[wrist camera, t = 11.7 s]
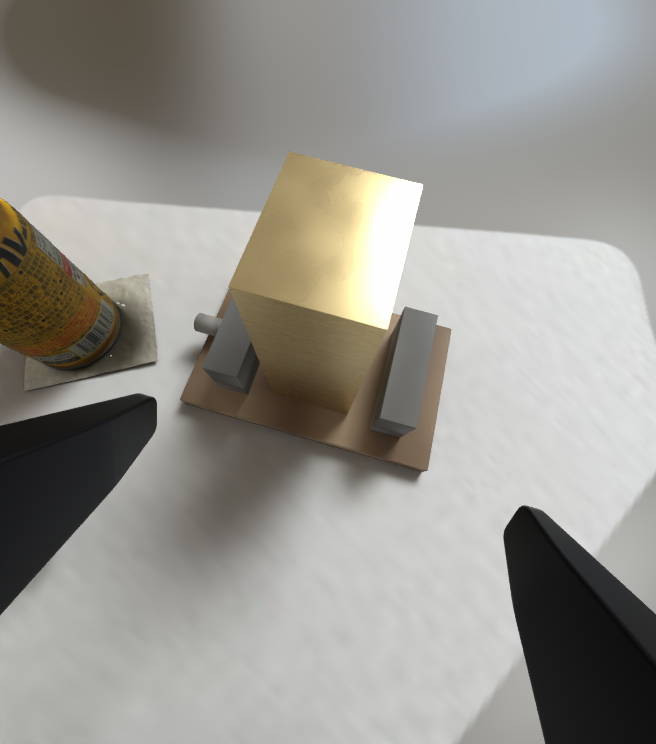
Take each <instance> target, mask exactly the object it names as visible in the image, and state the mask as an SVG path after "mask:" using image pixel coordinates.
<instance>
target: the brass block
mask: <svg viewBox="0 0 656 744" xmlns="http://www.w3.org/2000/svg"><path fill="white" fill-rule="evenodd" d="M422 187H423V185H422V184H418V183H414V182H409V181H406V180H402V179H398V178H394V177H389V176H386V175H382V174H377V173H373V172H369V171H365V170H361V169H357V168H353V167H349V166H345V165H341V164H337V163H333V162H329V161H325V160H321V159H317V158H313V157H309V156H304V155H301V154H297V153H293V152H289V153H288V155H287V158H286V160H285V162H284V164H283V166H282V169H281V171H280V173H279V176H278V178H277V180H276V182H275V184H274V187H273V189H272V191H271V193H270V195H269V198H268V200H267V202H266V204H265V207H264V209H263V211H262V213H261V215H260V217H259V220H258V222H257V224H256V226H255V229H254V231H253V233H252V235H251V237H250V240H249V242H248V244H247V246H246V249H245V251H244V253H243V255H242V257H241V260H240V262H239V264H238V266H237V269H236V271H235V273H234V275H233V277H232V280H231V282H230V284H229V286H228V287H229V289H230V292H231V294H232V297H233V299H234V301H235V304H236V306H237V309H238V311H239V313H240V316H241V318H242V321H243V323H244V325H245V328H246V330H247V333H248V335H249V338H250V340H251V342H252V345H253V347H254V350H255V352H256V354H257V357H258V359H259V362H260V364H261V367H262V369H263V371H264V374H265V376H266V379H267V381H268V383H269V386H270V388H271V391H272V393H273V394H277V395H280V396H284V397H287V398H291V399H294V400H298V401H301V402H305V403H308V404H312V405H315V406H319V407H322V408H326V409H329V410H333V411H336V412H340V413H343V414H347V415H348V413H349V411H350V408H351V406H352V404H353V402H354V400H355V398H356V396H357V393H358V391H359V389H360V387H361V385H362V383H363V381H364V379H365V376H366V374H367V372H368V370H369V368H370V366H371V364H372V361H373V359H374V357H375V355H376V353H377V351H378V349H379V347H380V344H381V342H382V340H383V338H384V336H385V334H386V332H387V329H388V325H389V321H390V317H391V313H392V309H393V305H394V301H395V297H396V293H397V289H398V285H399V280H400V276H401V272H402V268H403V264H404V260H405V256H406V252H407V248H408V244H409V240H410V236H411V232H412V228H413V224H414V220H415V215H416V211H417V207H418V203H419V199H420V195H421V191H422Z"/></svg>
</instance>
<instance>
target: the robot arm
mask: <svg viewBox="0 0 656 744" xmlns="http://www.w3.org/2000/svg"><path fill="white" fill-rule="evenodd" d="M156 427H157V402H156V399H155V398H154V397H151V396H147V395H144V394H140V393H137V394H133V395H128V396H124V397H120V398H116V399H112V400H107V401H103V402H99V403H95V404H90V405H86V406H82V407H78V408H74V409H69V410H65V411H61V412H57V413H52V414H48V415H44V416H40V417H36V418H31V419H27V420H23V421H19V422H15V423H10V424H6V425H2V426H0V615H1V614H2V613H3V612H4V610H5V609H6V608H7V607H8V606H9V605H10V604H11V603H12V602H13V600H14V599H15V598H16V597H17V596H18V595H19V594H20V593H21V591H22V590H23V589H24V588H25V587H26V586H27V585H28V584H29V583H30V581H31V580H32V579H33V578H34V577H35V576H36V575H37V574H38V572H39V571H40V570H41V569H42V568H43V567H44V566H45V565H46V563H47V562H48V561H49V560H50V559H51V558H52V557H53V556H54V555H55V553H56V552H57V551H58V550H59V549H60V548H61V547H62V546H63V544H64V543H65V542H66V541H67V540H68V539H69V538H70V537H71V536H72V534H73V533H74V532H75V531H76V530H77V529H78V528H79V527H80V525H81V524H82V523H83V522H84V521H85V520H86V519H87V518H88V517H89V515H90V514H91V513H92V512H93V511H94V510H95V509H96V508H97V506H98V505H99V504H100V503H101V502H102V501H103V500H104V499H105V498H106V496H107V495H108V494H109V493H110V492H111V491H112V490H113V488H114V487H115V486H116V485H117V483H118V482H119V481H120V480H121V478H122V477H123V476H124V474H125V473H126V472H127V470H128V469H129V467H130V466H131V465H132V463H133V462H134V461H135V459H136V458H137V456H138V455H139V454H140V452H141V451H142V450H143V448H144V447H145V445H146V444H147V443H148V441H149V440H150V439H151V437H152V436H153V434H154V432H155V430H156ZM503 538H504V546H505V554H506V561H507V568H508V575H509V583H510V590H511V597H512V603H513V608H514V613H515V618H516V622H517V627H518V631H519V635H520V639H521V643H522V648H523V652H524V656H525V660H526V664H527V668H528V673H529V677H530V681H531V685H532V690H533V694H534V698H535V702H536V706H537V711H538V715H539V719H540V723H541V727H542V732H543V736H544V740H545V744H656V614H655V613H654V612H653V611H652V610H650V609H649V608H648V607H647V606H646V605H645V604H644V603H643V602H642V601H641V600H640V599H639V598H637V597H636V596H635V595H634V594H633V593H632V592H631V591H630V590H629V589H627V588H626V587H625V586H624V585H623V584H622V583H621V582H620V581H619V580H618V579H617V578H616V577H614V576H613V575H612V574H611V573H610V572H609V571H608V570H607V569H606V568H605V567H604V566H602V565H601V564H600V563H599V562H598V561H597V560H596V559H595V558H594V557H593V556H592V555H590V554H589V553H588V552H587V551H586V550H585V549H584V548H583V547H582V546H581V545H579V544H578V543H577V542H576V541H575V540H574V539H573V538H572V537H571V536H570V535H569V534H567V533H566V532H565V531H564V530H563V529H562V528H561V527H560V526H559V525H558V524H557V523H555V522H554V521H553V520H552V519H551V518H550V517H549V516H548V515H547V514H546V513H545V512H543V511H542V510H540V509H536V508H533V507H529V506H526V505H524V506H521V507H519V508H518V510H517V511H516V513H515V514H514V516H513V517H512V519H511V520H510V522H509V523H508V525H507V526H506V528H505V530H504V537H503Z"/></svg>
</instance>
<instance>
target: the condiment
mask: <svg viewBox="0 0 656 744" xmlns="http://www.w3.org/2000/svg"><path fill="white" fill-rule="evenodd" d="M117 302H119V303H120V304H117ZM121 304H125V305H126V306H125V307H124V306H122V305H121ZM0 344H2V345H4V346H7V347H8V348H10V349H13V350H15V351H17V352H19V353H21V354H23V355H25V356H26V362H25V369H24V391H27V390H32V389H37V388H41V387H46V386H51V385H56V384H59V383H64V382H69V381H74V380H78V379H83V378H86V377H90V376H95V375H98V374H101V373H105V372H111V371H116V370H120V369H125V368H129V367H133V366H136V365H140V364H144V363H149V362H153V361H157V352H156V350H157V347H156V337H155V326H154V318H153V307H152V302H151V292H150V286H149V278H148V274H144V275H137V276H133V277H129V278H121V279H117V280H113V281H106V282H102V283H97V284H94V283H93V282H92V281H91V280H90V279H89V278H88V277H87V276H86V275H85V274H84V273H82V271H81V270H79V269H78V268H77V267H76V266H75V265H74V264H73V263H72V262H71V261H70V260H69V259H67V258H66V257H65V255H63V254H62V253H61V252H60V251H59V250H58V249H57V248H56V247H55V246H54V245H53V244H52V243H51V242H50V241H49V240H48V239H47V238H46V237H45V236H44V235H43V234H41V233H40V232H39V231H38V230H37V229H36V228H35V227H34V226H33V225H32V224H30V223H29V222H28V221H27V220H26V219H25V218H24V217H23V216H22V215H21V214H20V213H19V212H18V211H17V210H16V209H15V208H13V207H12V206H11V205H10V204H8V203H7V202H6V201H4V200H3V199H1V198H0ZM110 355H112V356H111V357H110Z"/></svg>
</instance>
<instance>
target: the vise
mask: <svg viewBox="0 0 656 744" xmlns="http://www.w3.org/2000/svg"><path fill="white" fill-rule="evenodd" d="M437 318H438V315H435V314H431V313H427V312H423V311H419V310H416V309H412V308H408V307H405V308H404V310H403V312H402V314H401V315H397V314H393V313H391V317H390V321H389V325H388V329H387V332H386V334H385V336H384V338H383V340H382V342H381V344H380V347H379V349H378V351H377V353H376V355H375V357H374V359H373V361H372V364H371V366H370V368H369V370H368V372H367V374H366V376H365V379H364V381H363V383H362V385H361V387H360V389H359V391H358V393H357V396H356V398H355V400H354V402H353V404H352V406H351V408H350V411H349V413H348V415H347V414H343V413H340V412H336V411H333V410H329V409H326V408H322V407H319V406H315V405H312V404H308V403H305V402H301V401H298V400H294V399H291V398H287V397H284V396H280V395H277V394H273V393H272V391H271V388H270V386H269V383H268V381H267V379H266V376H265V374H264V371H263V369H262V367H261V364H260V362H259V359H258V357H257V354H256V352H255V350H254V347H253V345H252V342H251V340H250V338H249V335H248V333H247V330H246V328H245V325H244V323H243V321H242V318H241V316H240V313H239V311H238V309H237V306H236V304H235V301H234V299H233V297H232V294H231V292H230V289H229V290H228V292H227V295H226V297H225V299H224V301H223V304H222V306H221V308H220V310H219V313H218V315H217V317H213V316H209V315H205V314H202V313H199V314H198V315H197V316H196V318H195V321H194V329H195V331H198V332H201V333H205V334H209V335H208V337H207V340H206V342H205V344H204V346H203V349H202V351H201V353H200V355H199V358H198V360H197V362H196V364H195V367H194V369H193V371H192V373H191V376H190V378H189V380H188V382H187V385H186V387H185V389H184V391H183V394H182V396H181V398H180V400H181V401H183V402H184V403H186V404H190V405H193V406H197V407H200V408H203V409H207V410H210V411H214V412H217V413H221V414H224V415H228V416H231V417H235V418H238V419H242V420H245V421H248V422H252V423H255V424H259V425H262V426H266V427H269V428H273V429H276V430H280V431H283V432H287V433H290V434H294V435H297V436H300V437H304V438H307V439H311V440H314V441H318V442H321V443H325V444H328V445H332V446H335V447H339V448H342V449H345V450H349V451H352V452H356V453H359V454H363V455H366V456H370V457H373V458H377V459H380V460H384V461H387V462H390V463H394V464H397V465H401V466H404V467H408V468H411V469H415V470H418V471H422V472H424V471H428V465H429V459H430V453H431V447H432V441H433V435H434V429H435V423H436V417H437V412H438V406H439V400H440V394H441V388H442V382H443V376H444V370H445V364H446V358H447V352H448V347H449V341H450V335H451V329H450V328H446V327H442V326H438V325H436V323H437Z"/></svg>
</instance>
